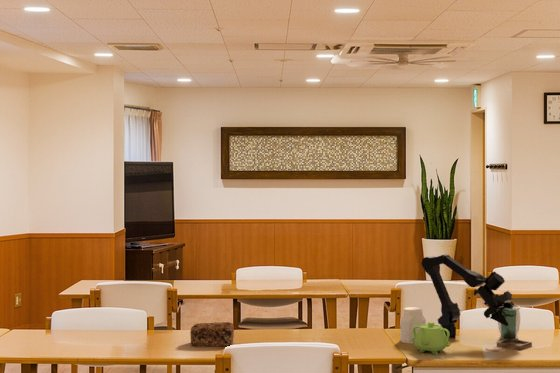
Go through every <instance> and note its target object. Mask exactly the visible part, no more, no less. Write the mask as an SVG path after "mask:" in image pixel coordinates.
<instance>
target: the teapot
mask: <svg viewBox="0 0 560 373" xmlns="http://www.w3.org/2000/svg"><path fill="white" fill-rule="evenodd" d="M416 328H419V330H418V332H417V335H416V332H415V329H416ZM444 331H446V332H447V337H446V334H445V332H444ZM413 334H414V338H412V342H414V343H413V344H414V345H415V347H416V349H418V352H419V353H425V352H426V351H430V352H431V353H432V355H439V353H438V352H440V353H441V352H442V351H443V352H444V350H445V349H446V347H447V348H449V347H450V346H451V342H450V341H449V339H450V338H449V336H450V333H449V331H448V330H447V329H443V327H442V326H440V324H435V322H433V321H429V322H427V324H426V325H422V326H415V327H414V328H413ZM414 339H415V341H414Z"/></svg>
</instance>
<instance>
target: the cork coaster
mask: <svg viewBox="0 0 560 373" xmlns="http://www.w3.org/2000/svg"><path fill="white" fill-rule="evenodd" d="M484 350H485V351H488V352H492V353H493V352H494V353H495V352H496V353H502V352H506V351H507V348H504V347H498V346H495V347H494V346H493V347H492V346H491V347H485V348H484Z"/></svg>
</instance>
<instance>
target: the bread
mask: <svg viewBox="0 0 560 373" xmlns="http://www.w3.org/2000/svg"><path fill="white" fill-rule="evenodd" d="M234 333H235V327H234V323H232V322H230V321H226V322H225V321H221V322H217V321H215V322H214V321H213V322H203V323H202V322H201V323H195V324H193V325H192V326H191V328H190V344H191V347H199V348H200V347H204V348H205V347H207V348H209V347H212V348H213V347H220V348H221V347H225V348H226V347H229V346H228V345H232V346H233V344H234V337H235V335H234Z"/></svg>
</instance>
